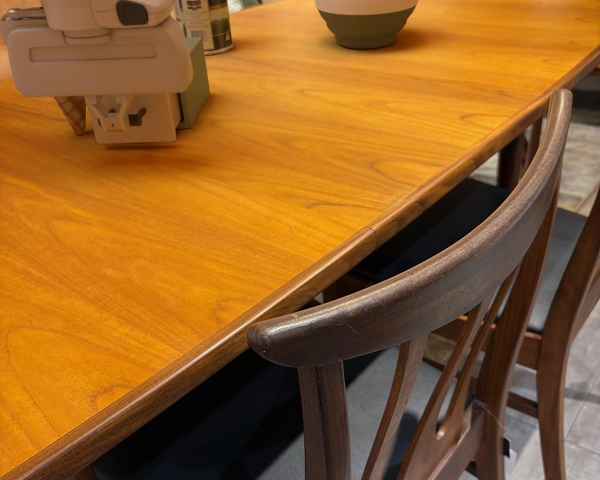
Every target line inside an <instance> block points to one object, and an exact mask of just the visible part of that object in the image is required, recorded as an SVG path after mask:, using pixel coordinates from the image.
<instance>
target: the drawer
mask: <svg viewBox="0 0 600 480" xmlns="http://www.w3.org/2000/svg"><path fill="white" fill-rule="evenodd" d="M100 101H101V103H102V104H103V105H104V107H105V108H106V109H107V110H108V112H109V113H119V111H120V108H121V104H122V103H120V104H118V103H116V99H115V95H103V98H102V99H101V100H100ZM87 110H88V113H89V117H90V122H91V125H92V129H93V132H94V136H95V141H96V144H98V145H99V144H129V143H165V142H166V143H167V142H169V143H170V142H175V141H176V140H177V134H176V127H177V125H178V124H179V122H180V120H181V119H182V117H183V109H182V103H181V97H180V93H151V94H133V100H132V103H131V106H130V109H129V112H128V118H129V122H130V128H129V129H128V131H110V132H103V130H102V127H101V123H100V119H99V118H97V116H96V115H95V114H94V113H93V112H92V111H91V110H90V109H89V108H88V107H87Z"/></svg>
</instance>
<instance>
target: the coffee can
mask: <svg viewBox="0 0 600 480" xmlns="http://www.w3.org/2000/svg"><path fill="white" fill-rule="evenodd" d="M172 2H173V8H174V12H175V13H174V14H175V20H176V21H177V22H178V23H179V25H180V26H181V28H182V30H183V33H184V35H185V38H189V37H202V39H203V46H204V53H205V56H210V55H217V54H221V53H225V52H228V51H231V50H232V49H233V48H234V44H233V37H232V28H231V20H230V11H229V3H228V0H172Z"/></svg>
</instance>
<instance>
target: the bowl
mask: <svg viewBox="0 0 600 480" xmlns="http://www.w3.org/2000/svg"><path fill="white" fill-rule="evenodd" d="M314 4H315V8H316V9H317V11H318V13H319V15H320V17H321V18H322V19H323V21H324V22H325V23H326V27H327V29H328V30H329V31H330V32H331V33H332V34H333V35H334V36H335V41H336V43H337V44H338V45H340V46H341V47H344V48H347V49H353V50H373V49H381V48H384V47H388V46H390V45H392V44H393V43H395V42H396V40H397V39H398V33H400V31H402V30H403V29H404V28H405V26H406V25H407V21H408V19H409V18H410V17H411V15H412V14H413V13H414V11H415V9H416V7H417V5H418V4H419V0H314Z"/></svg>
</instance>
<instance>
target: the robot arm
mask: <svg viewBox="0 0 600 480" xmlns="http://www.w3.org/2000/svg"><path fill="white" fill-rule="evenodd" d="M40 2H41V4H42V6H33V7H27V8H20V7H13V8H9V9H7V11H6V13H4V14H3V15H2V16H1V17H0V33H1V36H2V40H3V42H4V45H5V46H6V47H7V54H8V61H9V67H10V70H11V76H12V79H13V84H14V86H15V89H16V91H18V92H19V93H20V95H22V96H23V97H25V98H54V97H60V96H84V99H85V103H86V107H87V109H88V108H89V109H90V110H91V111H92V112H93V113H94V114H95V115H96V116H97V118H99V119H100V123H101V127H102V130H103V132H110V131H128V129H129V128H130V122H129V118H128V112H129V109H130V106H131V103H132V100H133V94H151V93H181V92H184V91H185V90H186V89H187V88H188V86H189V85H190V83H191V82H192V80H193V67H192V62H191V57H190V53H189V49H188V45H187V42H186V39H185V35H184V33H183V30H182V28H181V26H180V25H179V23H178V22H177V19H176V18H175V19H174V18H173V17H172V16H170V15H171V14H172V12H173V10H174V2H173V0H40ZM103 95H115V99H116V103H118V104H120V103H122V104H121V108H120V111H119V113H109V112H108V110H107V109H106V108H105V107H104V105H103V104H102V103H101V101H100V100H101V99H102V98H103Z"/></svg>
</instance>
